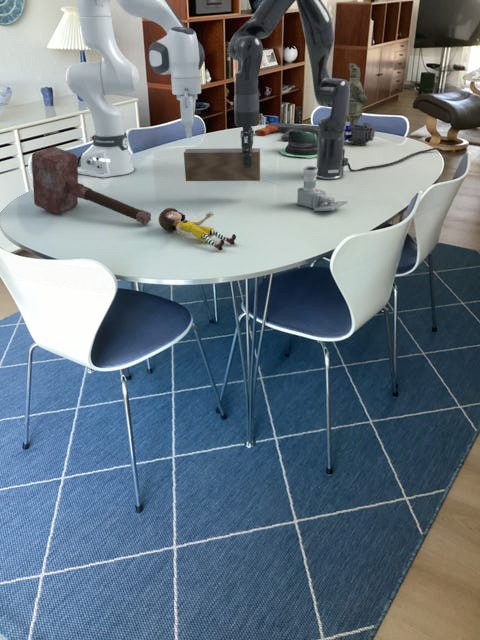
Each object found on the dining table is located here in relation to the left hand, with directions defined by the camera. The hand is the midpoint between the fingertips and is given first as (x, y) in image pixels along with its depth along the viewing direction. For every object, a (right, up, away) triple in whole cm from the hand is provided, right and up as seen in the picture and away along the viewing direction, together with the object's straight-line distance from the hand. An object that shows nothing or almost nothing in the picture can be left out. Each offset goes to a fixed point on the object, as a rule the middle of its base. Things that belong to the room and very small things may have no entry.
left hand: (189, 134), depth 175 cm
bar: (+11, -13, +4) cm, 17 cm away
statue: (+71, +33, +95) cm, 123 cm away
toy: (+67, +20, +72) cm, 101 cm away
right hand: (+18, -9, +2) cm, 21 cm away
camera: (+41, -23, 0) cm, 47 cm away
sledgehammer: (-29, -26, -3) cm, 39 cm away
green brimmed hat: (+43, +13, +61) cm, 76 cm away
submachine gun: (+40, +29, +89) cm, 102 cm away
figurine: (+3, -36, -20) cm, 41 cm away
